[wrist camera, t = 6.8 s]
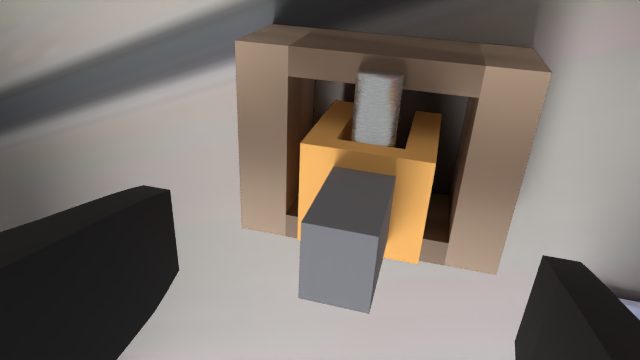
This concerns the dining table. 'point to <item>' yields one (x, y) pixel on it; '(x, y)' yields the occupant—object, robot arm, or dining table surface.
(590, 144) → the dining table surface
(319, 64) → the rectangular frame
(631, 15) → the dining table surface
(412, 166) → the orange u-shaped bracket
